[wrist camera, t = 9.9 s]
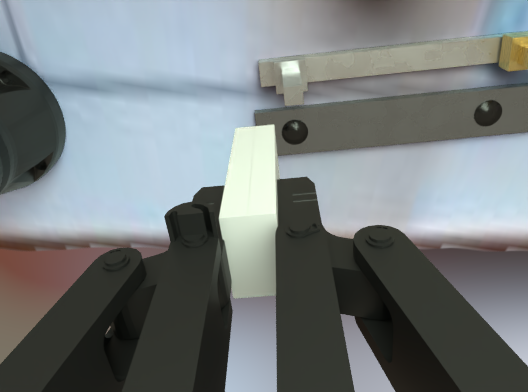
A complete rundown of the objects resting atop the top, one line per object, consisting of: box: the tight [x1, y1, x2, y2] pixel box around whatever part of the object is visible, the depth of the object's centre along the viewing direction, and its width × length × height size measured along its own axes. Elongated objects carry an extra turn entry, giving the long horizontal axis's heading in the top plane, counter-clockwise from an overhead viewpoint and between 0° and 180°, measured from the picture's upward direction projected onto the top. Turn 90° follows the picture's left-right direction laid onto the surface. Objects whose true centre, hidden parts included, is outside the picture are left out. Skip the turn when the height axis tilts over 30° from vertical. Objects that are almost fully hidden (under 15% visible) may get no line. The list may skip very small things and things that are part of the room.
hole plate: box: [255, 83, 528, 156], centre depth 48 cm, size 30×5×1 cm, turn 96°
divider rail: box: [259, 31, 527, 106], centre depth 42 cm, size 28×3×9 cm, turn 96°
